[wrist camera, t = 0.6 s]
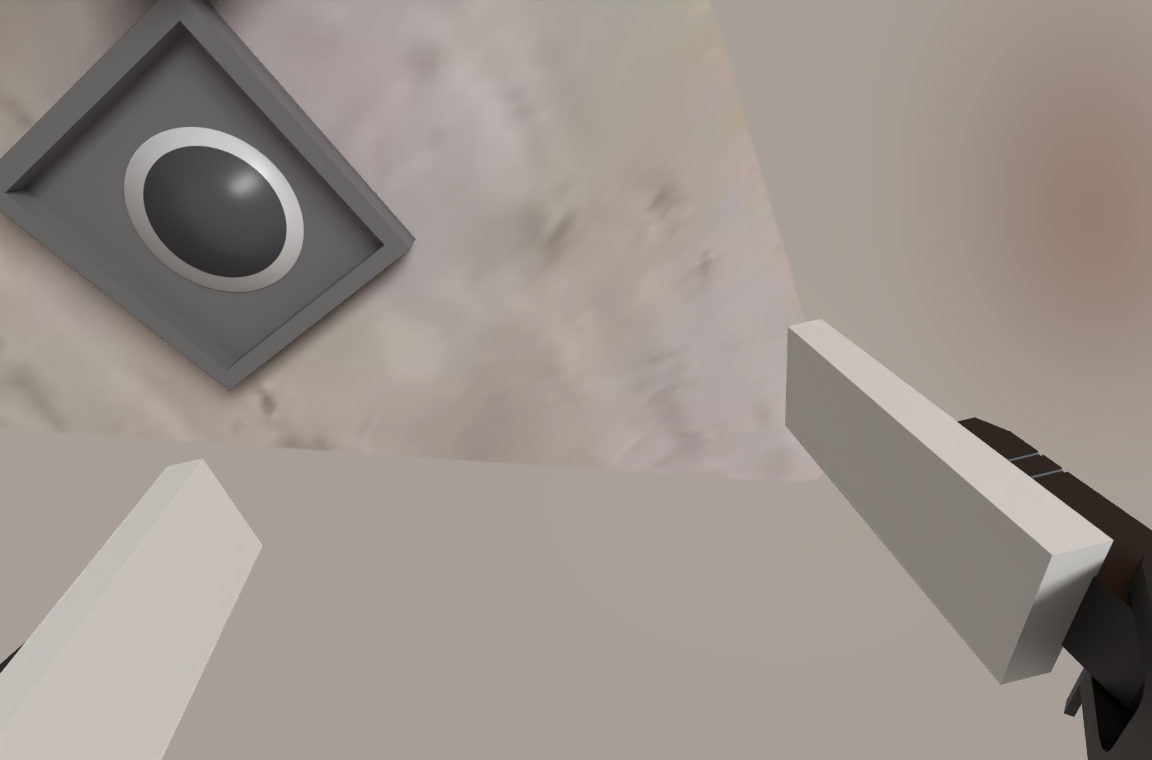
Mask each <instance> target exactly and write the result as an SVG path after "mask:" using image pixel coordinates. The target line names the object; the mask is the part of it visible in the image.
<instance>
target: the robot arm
mask: <svg viewBox="0 0 1152 760" xmlns="http://www.w3.org/2000/svg"><path fill="white" fill-rule="evenodd" d="M785 425H786V427H787V428H788V429H789V430H790V431H791V433H792V434H793V435H794V436H795V437H796V439H797V440H798V441H799V442H800V443H801V445H802V446H803V447H804V448H805V450H806V451H807V452H808V453H809V454H810V456H811V457H812V458H813V459H814V460H815V462H816V463H817V464H818V465H819V466H820V468H821V469H822V470H823V471H824V472H825V474H826V475H827V476H828V477H829V478H830V480H831V481H832V482H833V483H834V484H835V486H836V487H837V488H838V489H839V490H840V492H841V493H842V494H843V495H844V496H845V498H846V499H847V500H848V501H849V502H850V504H851V505H852V506H853V507H854V509H855V510H856V511H857V512H858V513H859V515H860V516H861V517H862V518H863V519H864V521H865V522H866V523H867V524H868V525H869V527H870V528H871V529H872V530H873V531H874V533H875V534H876V535H877V536H878V538H879V539H880V540H881V541H882V542H883V544H884V545H885V546H886V547H887V548H888V550H889V551H890V552H891V553H892V554H893V556H894V557H895V558H896V559H897V560H898V561H899V563H900V564H901V565H902V566H903V568H904V569H905V570H906V571H907V572H908V574H909V575H910V576H911V577H912V579H913V580H914V581H915V582H916V583H917V585H918V586H919V587H920V588H921V589H922V591H923V592H924V593H925V594H926V595H927V596H928V598H929V599H930V600H931V601H932V602H933V604H934V605H935V606H936V607H937V608H938V610H939V611H940V612H941V613H942V614H943V616H944V617H945V618H946V619H947V621H948V622H949V623H950V624H951V626H952V627H953V628H954V629H955V630H956V632H957V633H958V634H959V635H960V636H961V638H962V639H963V640H964V641H965V642H966V643H967V645H968V646H969V647H970V648H971V650H972V651H973V652H974V653H975V654H976V656H977V657H978V658H979V659H980V660H981V662H982V663H983V664H984V665H985V666H986V668H987V669H988V670H989V671H990V673H991V674H992V675H993V676H994V677H995V678H996V680H997V681H998V682H999V683H1000V685H1001V684H1005V683H1009V682H1013V681H1017V680H1021V679H1025V678H1029V677H1032V676H1037V675H1041V674H1045V673H1049V672H1051V670H1052V669H1053V666H1054V664H1055V662H1056V660H1057V658H1058V656H1059V654H1060V652H1061V650H1062V648H1063V647H1064V648H1065V649H1066V650H1067V651H1068V652H1069V653H1070V654H1071V655H1072V656H1073V657H1074V658H1075V659H1076V660H1077V661H1078V662H1079V663H1080V664H1081V665H1082V666H1083V667H1084V668H1083V671H1082V672H1081V674H1080V676H1079V678H1078V680H1077V682H1076V684H1075V685H1074V687H1073V689H1072V691H1071V693H1070V695H1069V697H1068V699H1067V702H1066V706H1065V711H1064V713H1065V714H1068V715H1070V716H1073V717H1074V716H1075V714H1076V713H1077V711H1078V709H1079V707H1080V705H1081V704H1082V710H1083V719H1084V728H1085V738H1086V746H1087V756H1088V760H1152V530H1150V529H1149V528H1147V527H1146V526H1145V525H1143V524H1142V523H1140V522H1139V521H1138V520H1136V519H1135V518H1133V517H1132V516H1130V515H1129V514H1127V513H1126V512H1125V511H1123V510H1122V509H1120V508H1119V507H1117V506H1116V505H1115V504H1113V503H1112V502H1110V501H1109V500H1107V499H1106V498H1104V497H1103V496H1102V495H1100V494H1099V493H1097V492H1096V491H1094V490H1093V489H1092V488H1090V487H1089V486H1087V485H1086V484H1085V483H1083V482H1082V481H1080V480H1079V479H1077V478H1076V477H1074V476H1073V475H1072V474H1070V473H1069V472H1066V473H1064V472H1063V471H1062V468H1061V467H1060V466H1059V465H1057V464H1056V463H1054V462H1053V461H1052V460H1050V459H1049V458H1047V457H1046V456H1044V455H1042V456H1040V455H1039V454H1038V451H1037V450H1036V449H1034V448H1033V447H1032V446H1030V445H1029V444H1027V443H1025V442H1024V441H1023V440H1021V439H1020V438H1019V437H1017V436H1016V435H1014V434H1013V433H1011V432H1010V431H1007V430H1005V429H1003V428H1000V427H998V426H995V425H993V424H990V423H988V422H985V421H982V420H980V419H977V418H971V419H966V420H962V421H958V422H957V421H955V420H954V419H953V418H951V417H950V416H949V415H947V414H946V413H945V412H943V411H942V410H941V409H939V408H938V407H937V406H935V405H934V404H933V403H931V402H930V401H929V400H927V399H926V398H925V397H923V396H922V395H921V394H920V393H918V392H917V391H916V390H914V389H913V388H912V387H910V386H909V385H908V384H906V383H905V382H904V381H902V380H901V379H900V378H898V377H897V376H896V375H894V374H893V373H892V372H890V371H889V370H888V369H886V368H885V367H884V366H882V365H881V364H880V363H879V362H877V361H876V360H875V359H873V358H872V357H871V356H869V355H868V354H867V353H865V352H864V351H863V350H861V349H860V348H859V347H857V346H856V345H855V344H853V343H852V342H851V341H849V340H848V339H847V338H846V337H844V336H843V335H841V334H840V333H839V332H838V331H836V330H835V329H833V328H832V327H831V326H830V325H828V324H827V323H826V322H824V321H823V320H821V319H819V320H814V321H810V322H805V323H801V324H796V325H792V326H788V344H787V381H786V418H785ZM261 548H262V545H261V543H260V542H259V540H258V539H257V537H256V536H255V535H254V533H253V531H252V530H251V529H250V527H249V526H248V524H247V523H246V521H245V520H244V519H243V517H242V515H241V514H240V512H239V511H238V510H237V508H236V507H235V505H234V504H233V502H232V501H231V499H230V498H229V496H228V495H227V493H226V492H225V491H224V489H223V488H222V486H221V485H220V483H219V482H218V480H217V479H216V477H215V476H214V475H213V473H212V472H211V470H210V469H209V467H208V466H207V464H206V463H205V461H204V460H203V459H198V460H194V461H189V462H185V463H181V464H176V465H172V466H168V467H167V468H166V469H165V470H164V471H163V472H162V474H161V475H160V476H159V477H158V479H157V480H156V481H155V482H154V484H153V485H152V486H151V487H150V489H149V490H148V491H147V492H146V494H145V495H144V496H143V497H142V498H141V500H140V501H139V502H138V503H137V505H136V506H135V507H134V508H133V510H132V511H131V512H130V514H129V515H128V516H127V517H126V518H125V520H124V521H123V522H122V523H121V525H120V526H119V527H118V528H117V529H116V531H115V532H114V533H113V534H112V536H111V537H110V538H109V539H108V541H107V542H106V543H105V544H104V546H103V547H102V548H101V549H100V551H99V552H98V553H97V554H96V556H95V557H94V558H93V559H92V561H91V562H90V563H89V564H88V566H87V567H86V568H85V569H84V570H83V572H82V573H81V574H80V575H79V577H78V578H77V579H76V580H75V581H74V583H73V584H72V585H71V587H70V588H69V589H68V590H67V591H66V593H65V594H64V595H63V597H62V598H61V599H60V600H59V602H58V603H57V604H56V605H55V606H54V608H53V609H52V610H51V611H50V613H49V614H48V615H47V616H46V617H45V619H44V620H43V621H42V622H41V624H40V625H39V626H38V628H37V629H36V630H35V631H34V633H33V634H32V635H31V636H30V637H29V639H28V640H27V641H26V642H25V643H24V644H23V645H22V646H20V647H19V648H18V649H17V650H16V651H15V652H14V653H12V654H11V655H10V656H9V657H8V658H7V659H6V660H5V661H3V662H2V663H1V664H0V760H161V759H162V757H163V755H164V753H165V751H166V749H167V747H168V744H169V742H170V740H171V738H172V736H173V734H174V732H175V730H176V728H177V726H178V723H179V721H180V719H181V717H182V715H183V713H184V711H185V709H186V707H187V704H188V702H189V700H190V698H191V696H192V694H193V692H194V689H195V687H196V685H197V683H198V681H199V679H200V677H201V675H202V673H203V671H204V668H205V666H206V664H207V662H208V660H209V658H210V656H211V654H212V651H213V649H214V647H215V645H216V643H217V641H218V639H219V637H220V635H221V633H222V630H223V628H224V626H225V624H226V622H227V620H228V618H229V616H230V613H231V611H232V609H233V607H234V605H235V603H236V601H237V599H238V596H239V595H240V592H241V590H242V588H243V586H244V584H245V582H246V580H247V577H248V575H249V573H250V571H251V569H252V567H253V564H254V563H255V561H256V559H257V557H258V554H259V552H260V550H261Z"/></svg>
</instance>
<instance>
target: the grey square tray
mask: <svg viewBox="0 0 1152 760" xmlns="http://www.w3.org/2000/svg"><path fill="white" fill-rule="evenodd" d="M0 211H1V212H2V213H3V214H5V215H6V216H7V217H8V218H10V219H11V220H12V221H13V222H15V223H16V224H17V225H19V226H20V227H21V228H22V229H24V230H25V231H26V232H28V233H29V234H30V235H31V236H33V237H34V238H35V239H36V240H38V241H39V242H40V243H42V244H43V245H44V246H45V247H47V248H48V249H49V250H50V251H52V252H53V253H54V254H56V255H57V256H58V257H59V258H61V259H62V260H63V261H65V262H66V263H67V264H68V265H70V266H71V267H72V268H73V269H75V270H76V271H77V272H79V273H80V274H81V275H82V276H84V277H85V278H86V279H87V280H89V281H90V282H91V283H93V284H94V285H95V286H96V287H98V288H99V289H100V290H102V291H103V292H104V293H105V294H107V295H108V296H109V297H110V298H112V299H113V300H114V301H116V302H117V303H118V304H119V305H121V306H122V307H123V308H124V309H126V310H127V311H128V312H130V313H131V314H132V315H133V316H135V317H136V318H137V319H139V320H140V321H141V322H142V323H144V324H145V325H146V326H147V327H149V328H150V329H151V330H153V331H154V332H155V333H156V334H158V335H159V336H160V337H161V338H163V339H164V340H165V341H167V342H168V343H169V344H170V345H172V346H173V347H174V348H176V349H177V350H178V351H179V352H181V353H182V354H183V355H184V356H186V357H187V358H188V359H190V360H191V361H192V362H193V363H195V364H196V365H197V366H198V367H200V368H201V369H202V370H204V371H205V372H206V373H207V374H209V375H210V376H211V377H213V378H214V379H215V380H216V381H218V382H219V383H220V384H221V385H223V386H224V387H225V388H227V389H228V390H230V389H231V388H233V387H234V386H235V385H237V384H238V383H239V382H240V381H242V380H243V379H244V378H246V377H247V376H248V375H249V374H251V373H252V372H253V371H255V370H256V369H257V368H258V367H260V366H261V365H262V364H263V363H265V362H266V361H267V360H269V359H270V358H271V357H272V356H274V355H275V354H276V353H278V352H279V351H280V350H281V349H283V348H284V347H285V346H286V345H288V344H289V343H290V342H292V341H293V340H294V339H295V338H297V337H298V336H299V335H301V334H302V333H303V332H304V331H306V330H307V329H308V328H309V327H311V326H312V325H313V324H315V323H316V322H317V321H318V320H320V319H321V318H322V317H324V316H325V315H326V314H327V313H329V312H330V311H331V310H333V309H334V308H335V307H336V306H338V305H339V304H340V303H341V302H343V301H344V300H345V299H347V298H348V297H349V296H350V295H352V294H353V293H354V292H356V291H357V290H358V289H359V288H361V287H362V286H363V285H364V284H366V283H367V282H368V281H370V280H371V279H372V278H373V277H375V276H376V275H377V274H379V273H380V272H381V271H382V270H384V269H385V268H386V267H388V266H389V265H390V264H391V263H393V262H394V261H395V260H396V259H398V258H399V257H400V256H402V255H403V254H404V253H405V252H407V251H408V250H409V249H410V248H411V246H412V244H413V242H414V240H415V238H414V237H413V236H412V235H411V234H410V232H409V231H408V230H407V229H406V228H405V227H404V226H403V224H402V223H401V222H400V221H399V220H398V219H397V218H396V216H395V215H394V214H393V213H392V212H391V211H390V210H389V208H388V207H387V206H386V205H385V204H384V203H383V201H382V200H381V199H380V198H379V197H378V196H377V195H376V193H375V192H374V191H373V190H372V189H371V188H370V187H369V185H368V184H367V183H366V182H365V181H364V180H363V179H362V177H361V176H360V175H359V174H358V173H357V172H356V171H355V169H354V168H353V167H352V166H351V165H350V164H349V163H348V161H347V160H346V159H345V158H344V157H343V156H342V155H341V153H340V152H339V151H338V150H337V149H336V148H335V147H334V145H333V144H332V143H331V142H330V141H329V140H328V139H327V137H326V136H325V135H324V134H323V133H322V132H321V131H320V129H319V128H318V127H317V126H316V125H315V124H314V123H313V121H312V120H311V119H310V118H309V117H308V116H307V115H306V113H305V112H304V111H303V110H302V109H301V108H300V107H299V105H298V104H297V103H296V102H295V101H294V100H293V98H292V97H291V96H290V95H289V94H288V93H287V92H286V90H285V89H284V88H283V87H282V86H281V85H280V84H279V82H278V81H277V80H276V79H275V78H274V77H273V76H272V74H271V73H270V72H269V71H268V70H267V69H266V68H265V66H264V65H263V64H262V63H261V62H260V61H259V60H258V58H257V57H256V56H255V55H254V54H253V53H252V52H251V50H250V49H249V48H248V47H247V46H246V45H245V44H244V42H243V41H242V40H241V39H240V38H239V37H238V36H237V34H236V33H235V32H234V31H233V30H232V29H231V28H230V26H229V25H228V24H227V23H226V22H225V21H224V20H223V18H222V17H221V16H220V15H219V14H218V13H217V12H216V10H215V9H214V8H213V7H212V6H211V5H210V4H209V2H208V1H207V0H158V1H157V2H156V3H155V4H154V5H153V6H152V7H151V8H150V9H149V10H148V11H147V12H146V13H145V14H144V15H143V16H142V17H141V18H140V19H139V20H138V21H137V22H136V23H135V24H134V25H133V26H132V27H131V28H130V29H129V30H128V31H127V32H126V33H125V34H124V35H123V36H122V37H121V38H120V39H119V40H118V41H117V42H116V43H115V44H114V45H113V46H112V47H111V48H110V49H109V50H108V51H107V52H106V53H105V54H104V55H103V56H102V57H101V58H100V59H99V60H98V61H97V62H96V63H95V64H94V65H93V66H92V67H91V68H90V69H89V70H88V71H87V72H86V73H85V74H84V75H83V76H82V77H81V78H80V79H79V80H78V81H77V82H76V83H75V84H74V86H73V87H72V88H71V89H70V90H69V91H68V92H67V93H66V94H65V95H64V96H63V97H62V98H61V99H60V100H59V101H58V102H57V103H56V104H55V105H54V106H53V107H52V108H51V109H50V110H49V111H48V112H47V113H46V114H45V115H44V116H43V117H42V118H41V119H40V120H39V121H38V122H37V123H36V124H35V125H34V126H33V127H32V128H31V129H30V130H29V131H28V132H27V133H26V134H25V135H24V136H23V137H22V138H21V139H20V140H19V141H18V142H17V143H16V144H15V145H14V146H13V147H12V148H11V149H10V150H9V151H8V152H7V153H6V154H5V155H4V156H3V157H2V158H1V159H0Z"/></svg>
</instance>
